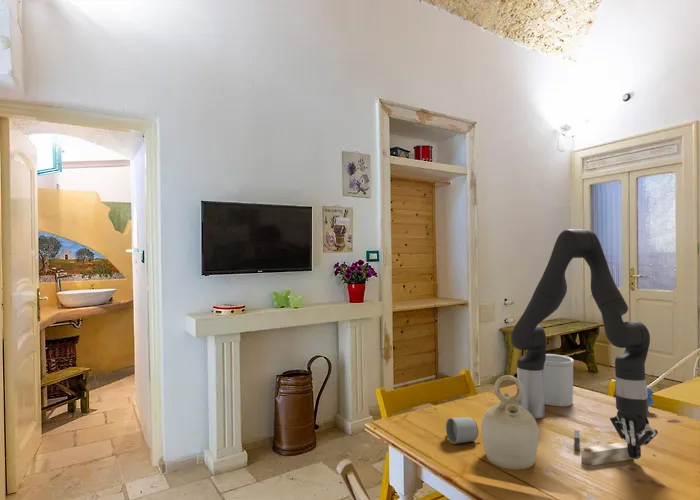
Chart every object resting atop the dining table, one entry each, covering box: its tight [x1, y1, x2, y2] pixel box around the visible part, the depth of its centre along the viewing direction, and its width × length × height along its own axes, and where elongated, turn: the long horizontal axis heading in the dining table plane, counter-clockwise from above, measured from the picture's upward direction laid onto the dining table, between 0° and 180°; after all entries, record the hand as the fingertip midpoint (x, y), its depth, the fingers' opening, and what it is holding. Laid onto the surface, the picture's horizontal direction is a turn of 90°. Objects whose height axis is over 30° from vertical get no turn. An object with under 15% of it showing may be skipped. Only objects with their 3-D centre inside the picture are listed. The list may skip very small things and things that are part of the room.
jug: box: [480, 374, 540, 471], centre depth 124 cm, size 15×16×25 cm
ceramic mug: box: [445, 416, 479, 445], centre depth 140 cm, size 11×8×8 cm
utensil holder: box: [544, 353, 575, 407], centre depth 176 cm, size 15×15×18 cm
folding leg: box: [580, 441, 634, 466], centre depth 122 cm, size 16×3×4 cm, turn 104°
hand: (634, 457), depth 120 cm, fingers closed
